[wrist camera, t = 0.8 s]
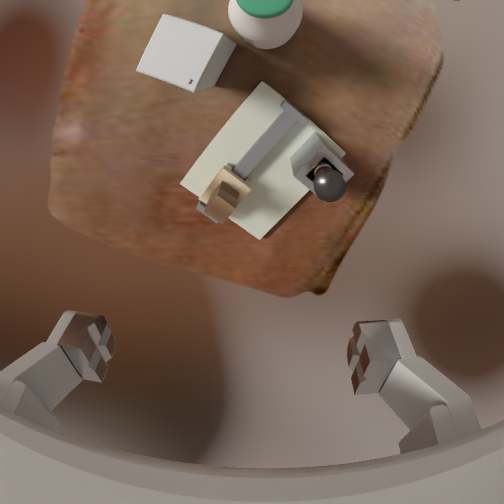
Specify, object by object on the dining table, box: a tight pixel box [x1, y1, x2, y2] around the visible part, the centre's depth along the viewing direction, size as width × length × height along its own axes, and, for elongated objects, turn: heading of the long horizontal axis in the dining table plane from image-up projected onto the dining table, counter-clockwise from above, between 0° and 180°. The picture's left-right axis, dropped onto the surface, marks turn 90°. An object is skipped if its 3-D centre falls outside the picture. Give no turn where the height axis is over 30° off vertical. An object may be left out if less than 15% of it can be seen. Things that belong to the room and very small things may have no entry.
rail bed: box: [180, 81, 346, 240], centre depth 43 cm, size 20×16×5 cm
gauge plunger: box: [312, 157, 346, 202], centre depth 36 cm, size 4×4×8 cm
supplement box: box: [136, 14, 237, 93], centre depth 30 cm, size 7×7×13 cm
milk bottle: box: [228, 0, 303, 49], centre depth 24 cm, size 8×8×20 cm
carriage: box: [199, 163, 252, 224], centre depth 42 cm, size 6×5×8 cm
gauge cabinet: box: [290, 132, 354, 203], centre depth 39 cm, size 5×6×9 cm
